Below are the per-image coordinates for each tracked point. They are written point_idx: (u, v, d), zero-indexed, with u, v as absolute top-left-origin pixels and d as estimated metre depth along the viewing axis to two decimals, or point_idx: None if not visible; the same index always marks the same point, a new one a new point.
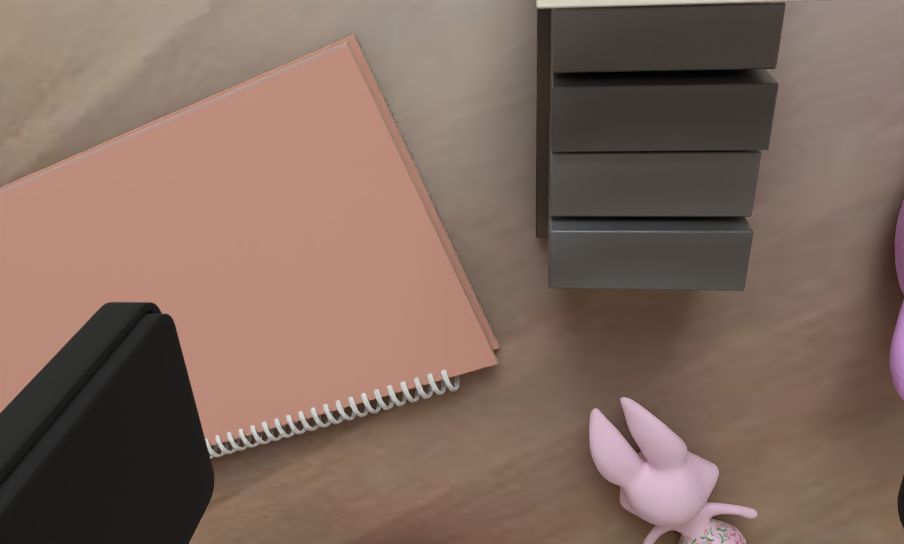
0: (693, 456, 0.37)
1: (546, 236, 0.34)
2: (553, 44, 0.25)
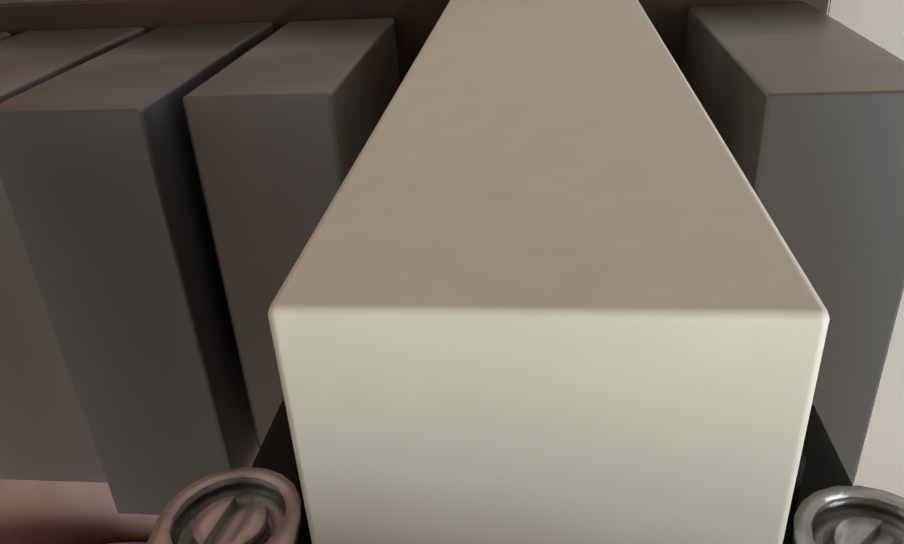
0: None
1: None
2: (249, 97, 0.10)
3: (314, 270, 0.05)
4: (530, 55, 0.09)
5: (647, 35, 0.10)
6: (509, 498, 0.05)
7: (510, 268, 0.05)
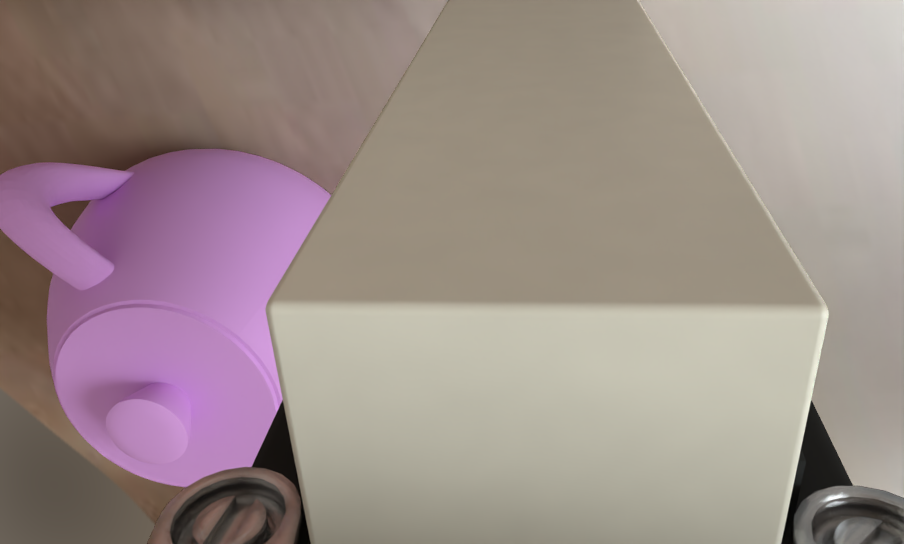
0: None
1: None
2: None
3: (312, 265, 0.05)
4: (529, 52, 0.09)
5: (647, 33, 0.10)
6: (507, 493, 0.05)
7: (509, 265, 0.05)
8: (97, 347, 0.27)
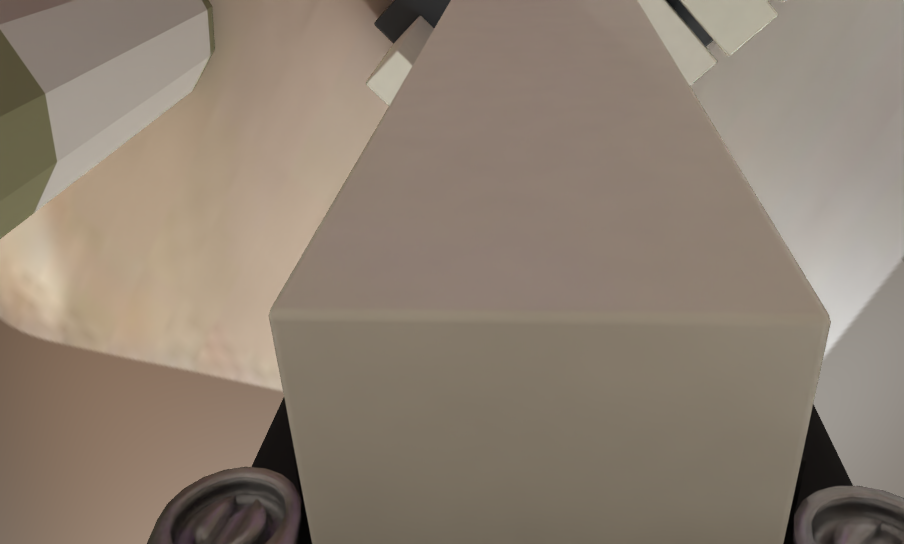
0: None
1: None
2: None
3: (314, 272, 0.05)
4: (531, 56, 0.09)
5: (647, 36, 0.10)
6: (509, 499, 0.05)
7: (510, 272, 0.05)
8: None
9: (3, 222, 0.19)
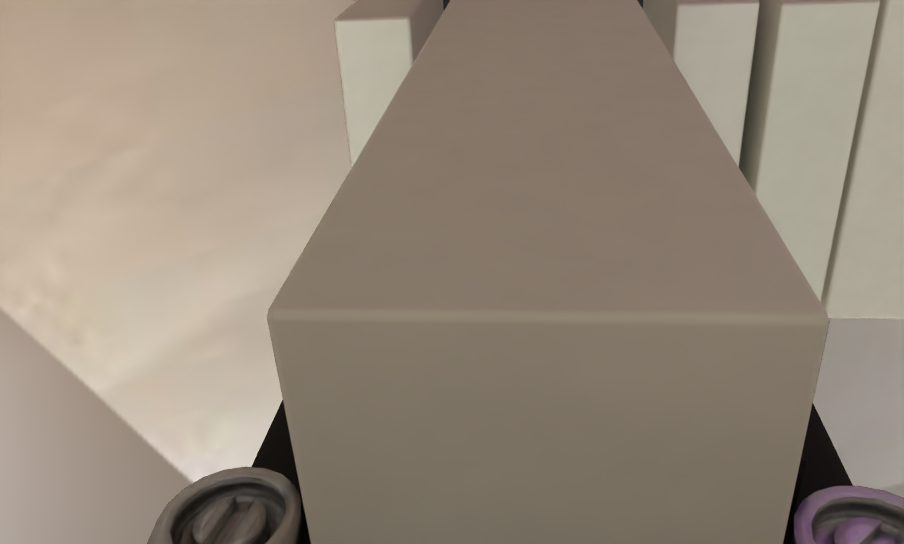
0: None
1: None
2: None
3: (314, 272, 0.05)
4: (530, 56, 0.09)
5: (647, 36, 0.10)
6: (509, 500, 0.05)
7: (508, 272, 0.05)
8: None
9: None
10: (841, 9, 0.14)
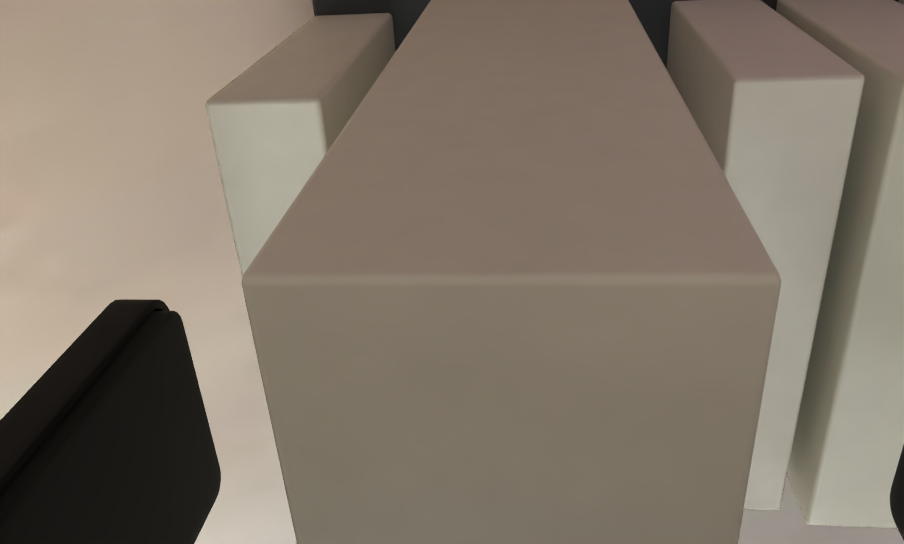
0: None
1: None
2: None
3: (289, 241, 0.05)
4: (511, 41, 0.09)
5: (628, 22, 0.10)
6: (479, 462, 0.05)
7: (477, 238, 0.05)
8: None
9: None
10: None
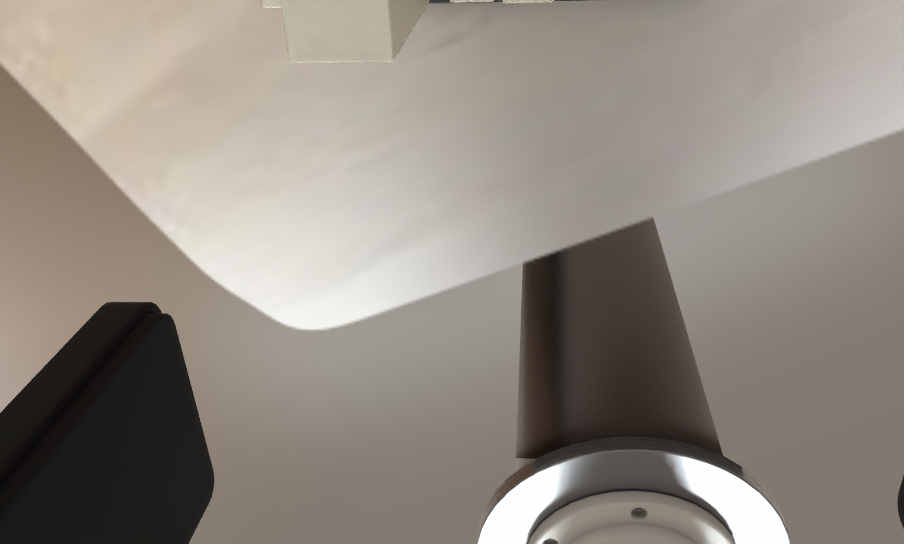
0: None
1: None
2: None
3: None
4: None
5: None
6: None
7: None
8: None
9: None
10: None
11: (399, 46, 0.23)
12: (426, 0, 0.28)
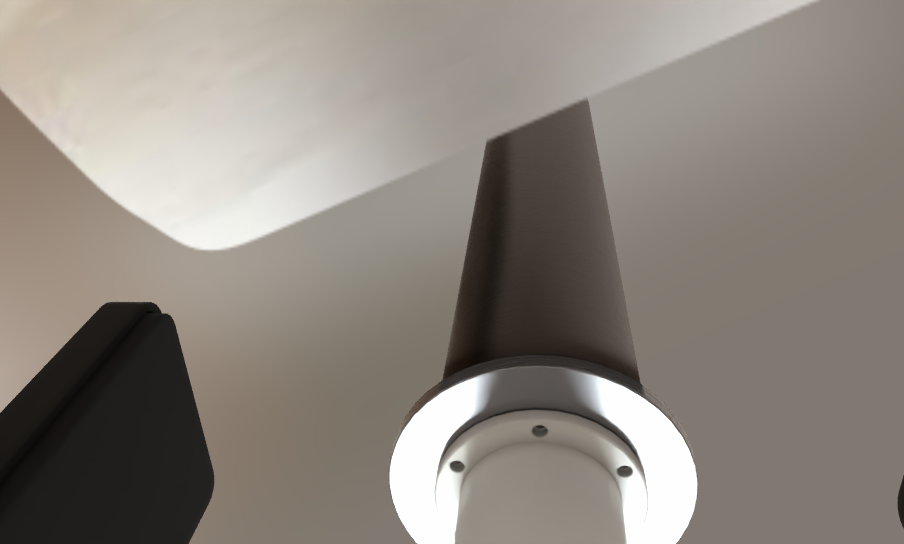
0: None
1: None
2: None
3: None
4: None
5: None
6: None
7: None
8: None
9: None
10: None
11: None
12: None
